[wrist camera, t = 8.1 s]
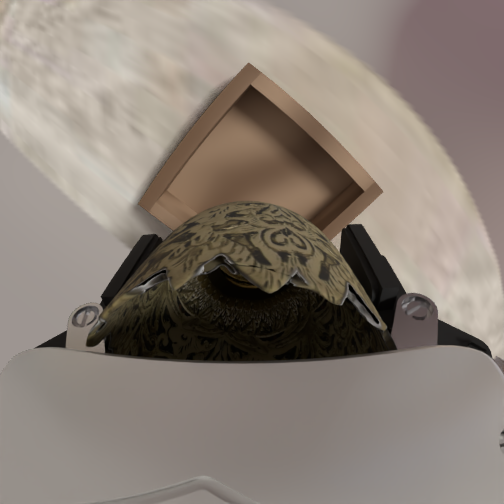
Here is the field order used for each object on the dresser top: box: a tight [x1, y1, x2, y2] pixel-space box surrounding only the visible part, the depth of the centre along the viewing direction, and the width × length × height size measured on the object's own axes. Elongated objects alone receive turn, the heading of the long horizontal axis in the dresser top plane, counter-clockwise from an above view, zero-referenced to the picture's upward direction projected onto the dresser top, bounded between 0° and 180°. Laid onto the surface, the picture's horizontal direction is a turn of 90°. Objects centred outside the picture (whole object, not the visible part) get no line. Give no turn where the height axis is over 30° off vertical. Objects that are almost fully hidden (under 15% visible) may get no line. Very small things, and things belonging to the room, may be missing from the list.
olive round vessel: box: [86, 201, 398, 361], centre depth 9 cm, size 8×7×8 cm
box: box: [138, 63, 383, 240], centre depth 19 cm, size 12×12×3 cm
